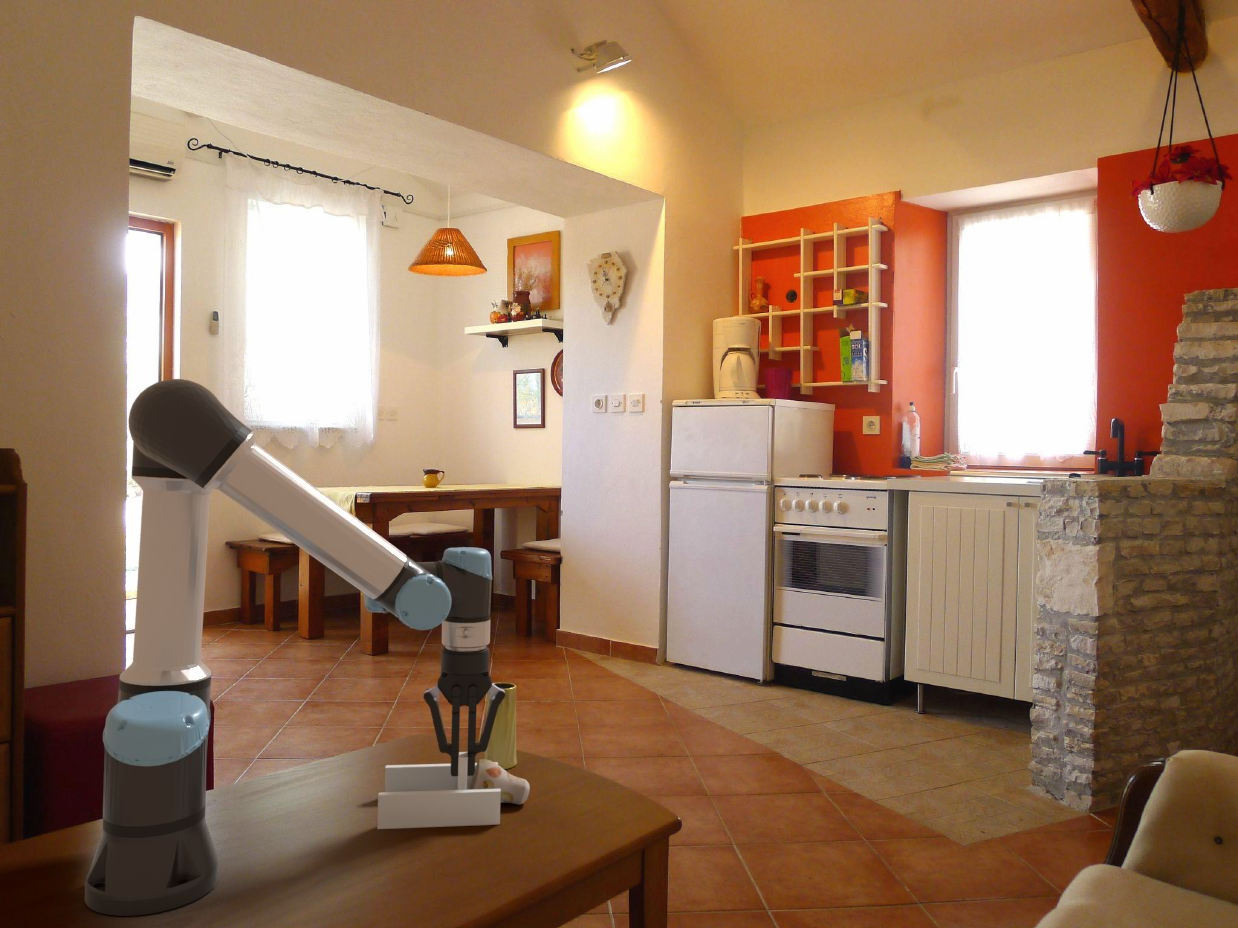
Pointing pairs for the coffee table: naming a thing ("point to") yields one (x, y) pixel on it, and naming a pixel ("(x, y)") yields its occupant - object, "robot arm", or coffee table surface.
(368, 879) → the coffee table surface
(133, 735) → the robot arm
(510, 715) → the vase
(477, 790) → the channel
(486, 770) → the mug
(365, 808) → the coffee table surface
